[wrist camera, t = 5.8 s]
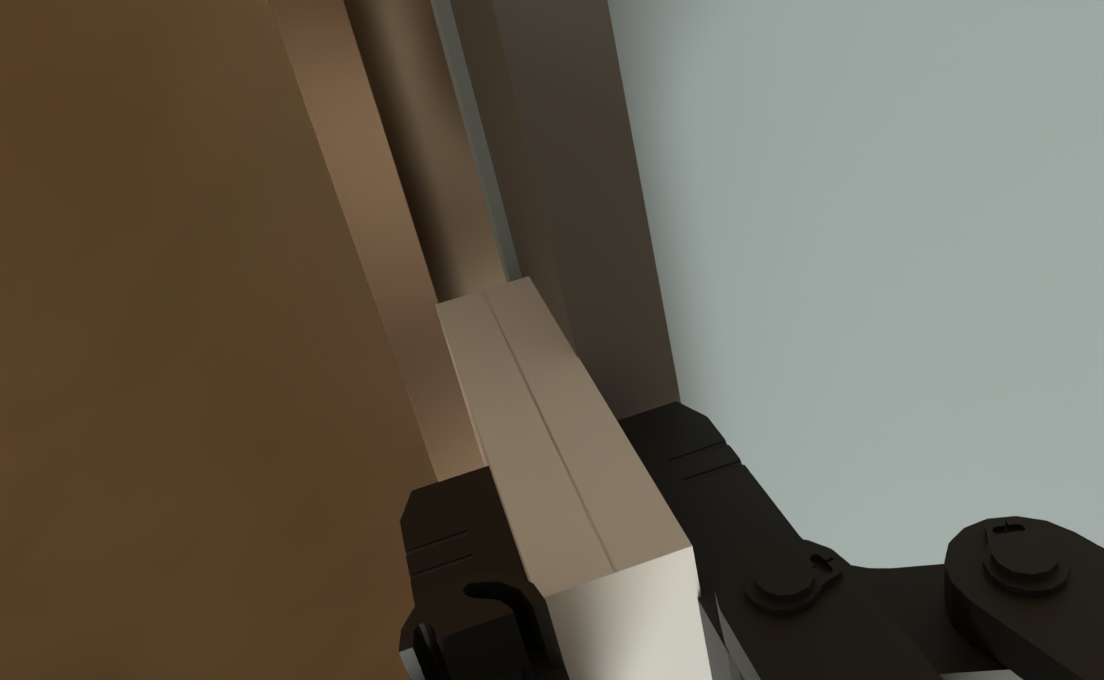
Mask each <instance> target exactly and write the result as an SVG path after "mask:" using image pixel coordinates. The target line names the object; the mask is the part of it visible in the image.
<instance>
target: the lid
mask: <svg viewBox="0 0 1104 680" xmlns="http://www.w3.org/2000/svg"><path fill="white" fill-rule="evenodd" d="M430 2H431V5H432V9H433V13H434V16H435V20H436V24H437V28H438V31H439V35H440V39H441V42H442V46H443V50H444V53H445V57H446V61H447V64H448V68H449V72H450V75H451V79H452V83H453V86H454V90H455V94H456V98H457V101H458V105H459V109H460V112H461V116H462V120H463V123H464V127H465V131H466V134H467V138H468V142H469V145H470V149H471V153H472V156H473V160H474V164H475V167H476V171H477V175H478V179H479V182H480V186H481V190H482V193H483V197H484V201H485V204H486V208H487V212H488V215H489V219H490V223H491V226H492V230H493V234H494V237H495V241H496V245H497V249H498V252H499V256H500V260H501V263H502V267H503V271H504V274H505V278H506V282H507V283H508V282H511V281H514V280H518V279H521V278H524V277H528V276H529V277H530V279H531V281H532V282H533V284H534V286H535V287H536V289H537V291H538V292H539V294H540V296H541V297H542V299H543V301H544V302H545V304H546V306H547V307H548V309H549V311H550V312H551V314H552V316H553V317H554V319H555V321H556V322H557V324H558V326H559V327H560V329H561V331H562V332H563V334H564V336H565V337H566V339H567V341H568V342H569V344H570V346H571V347H572V349H573V351H574V352H575V354H576V356H577V357H579V359H580V360H581V362H582V364H583V365H584V367H585V369H586V370H587V372H588V374H589V375H590V377H591V379H592V380H593V382H594V384H595V385H596V387H597V389H598V390H599V392H600V394H601V395H602V397H603V398H604V400H605V402H606V403H607V405H608V407H609V408H610V410H611V412H612V413H613V415H614V417H615V418H616V420H621V419H624V418H627V417H630V416H633V415H636V414H639V413H642V412H645V411H648V410H651V409H654V408H657V407H660V406H663V405H666V404H669V403H672V402H675V401H677V402H679V403H681V404H683V405H685V406H687V407H689V408H691V409H693V410H695V411H697V412H699V413H701V414H703V415H705V416H707V417H708V418H709V419H710V421H711V422H712V423H713V424H714V426H715V427H716V428H717V430H718V431H719V432H720V433H721V435H722V436H723V437H724V439H725V440H726V443H727V445H730V446H731V448H732V449H733V450H734V452H735V453H736V454H737V455H738V457H739V458H740V459H741V463H742V465H745V466H746V467H747V468H748V470H749V471H750V472H751V474H752V475H753V476H754V477H755V479H756V480H757V481H758V483H759V484H760V485H761V487H762V488H763V489H764V490H765V492H766V493H767V494H768V496H769V497H770V498H771V499H772V501H773V502H774V503H775V505H776V506H777V507H778V509H779V510H780V511H781V512H782V514H783V515H784V516H785V518H786V519H787V520H788V521H789V523H790V524H791V525H792V527H793V528H794V529H795V531H796V532H797V533H798V534H799V536H800V537H801V538H802V539H803V540H809V541H812V542H815V543H817V544H820V545H823V546H826V547H828V548H831V549H832V550H834V551H835V552H836V553H837V554H839V555H840V556H841V557H842V558H843V559H845V560H846V561H847V562H848V563H849V564H850V565H854V566H860V567H866V568H900V567H912V566H923V565H935V564H944V561H945V557H946V552H947V548H948V544H949V542H950V541H951V540H952V539H953V538H954V537H955V536H956V535H957V534H958V533H959V532H960V531H961V530H962V529H963V528H965V527H967V526H970V525H972V524H975V523H977V522H980V521H982V520H985V519H988V518H999V517H1010V516H1020V517H1026V518H1033V519H1040V520H1046V521H1049V522H1051V523H1054V524H1056V525H1059V526H1061V527H1064V528H1066V529H1069V530H1071V531H1074V532H1076V533H1078V534H1079V535H1081V536H1083V537H1085V538H1086V539H1088V540H1090V541H1092V542H1093V543H1095V544H1097V545H1099V546H1100V545H1103V544H1104V0H430Z"/></svg>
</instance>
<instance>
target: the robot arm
mask: <svg viewBox="0 0 1104 680" xmlns="http://www.w3.org/2000/svg"><path fill="white" fill-rule="evenodd" d="M435 306H436V309H437V312H438V316H439V319H440V322H441V326H442V329H443V332H444V335H445V339H446V342H447V345H448V348H449V352H450V355H451V358H452V362H453V365H454V368H455V371H456V375H457V378H458V381H459V384H460V388H461V391H462V394H463V398H464V401H465V404H466V407H467V411H468V414H469V417H470V420H471V424H472V427H473V430H474V434H475V437H476V440H477V443H478V447H479V450H480V453H481V456H482V459H483V462H484V465H485V467H483V468H480V469H477V470H474V471H471V472H467V473H464V474H461V475H458V476H455V477H452V478H449V479H446V480H443V481H440V482H437V483H434V484H431V485H428V486H425V487H422V488H419V489H416V490H413V491H412V492H411V494H410V497H409V499H408V502H407V504H406V507H405V510H404V512H403V515H402V517H401V520H400V524H401V530H402V535H403V541H404V547H405V551H406V555H407V556H406V558H407V564H408V569H409V575H410V578H411V586H412V592H413V598H414V603H415V607H414V609H413V610H412V612H411V614H410V616H409V617H408V619H407V621H406V622H405V624H404V626H403V628H402V629H401V637H400V646H399V654H400V657H401V659H402V661H403V664H404V666H405V669H406V671H407V674H408V676H409V678H410V680H1104V548H1102V547H1101V546H1099V545H1097V544H1095V543H1093V542H1092V541H1090V540H1088V539H1086V538H1085V537H1083V536H1081V535H1079V534H1078V533H1076V532H1074V531H1071V530H1069V529H1066V528H1064V527H1061V526H1059V525H1056V524H1054V523H1051V522H1049V521H1046V520H1040V519H1033V518H1026V517H1020V516H1010V517H999V518H988V519H985V520H982V521H980V522H977V523H975V524H972V525H970V526H967V527H965V528H963V529H962V530H961V531H960V532H959V533H958V534H957V535H956V536H955V537H954V538H953V539H952V540H951V541H950V542H949V544H948V548H947V552H946V557H945V561H944V564H935V565H923V566H912V567H900V568H866V567H860V566H854V565H850V564H849V563H848V562H847V561H846V560H845V559H843V558H842V557H841V556H840V555H839V554H837V553H836V552H835V551H834V550H832V549H831V548H828V547H826V546H823V545H820V544H817V543H815V542H812V541H809V540H803V539H802V538H801V537H800V536H799V534H798V533H797V532H796V531H795V529H794V528H793V527H792V525H791V524H790V523H789V521H788V520H787V519H786V518H785V516H784V515H783V514H782V512H781V511H780V510H779V509H778V507H777V506H776V505H775V503H774V502H773V501H772V499H771V498H770V497H769V496H768V494H767V493H766V492H765V490H764V489H763V488H762V487H761V485H760V484H759V483H758V481H757V480H756V479H755V477H754V476H753V475H752V474H751V472H750V471H749V470H748V468H747V467H746V466H745V465H742V463H741V459H740V458H739V457H738V455H737V454H736V453H735V452H734V450H733V449H732V448H731V446H730V445H727V443H726V440H725V439H724V437H723V436H722V435H721V433H720V432H719V431H718V430H717V428H716V427H715V426H714V424H713V423H712V422H711V421H710V419H709V418H708V417H707V416H705V415H703V414H701V413H699V412H697V411H695V410H693V409H691V408H689V407H687V406H685V405H683V404H681V403H679V402H677V401H675V402H672V403H669V404H666V405H663V406H660V407H657V408H654V409H651V410H648V411H645V412H642V413H639V414H636V415H633V416H630V417H627V418H624V419H621V420H616V418H615V417H614V415H613V413H612V412H611V410H610V408H609V407H608V405H607V403H606V402H605V400H604V398H603V397H602V395H601V394H600V392H599V390H598V389H597V387H596V385H595V384H594V382H593V380H592V379H591V377H590V375H589V374H588V372H587V370H586V369H585V367H584V365H583V364H582V362H581V360H580V359H579V357H577V356H576V354H575V352H574V351H573V349H572V347H571V346H570V344H569V342H568V341H567V339H566V337H565V336H564V334H563V332H562V331H561V329H560V327H559V326H558V324H557V322H556V321H555V319H554V317H553V316H552V314H551V312H550V311H549V309H548V307H547V306H546V304H545V302H544V301H543V299H542V297H541V296H540V294H539V292H538V291H537V289H536V287H535V286H534V284H533V282H532V281H531V279H530V277H529V276H528V277H524V278H521V279H518V280H514V281H511V282H508V283H505V284H501V285H498V286H495V287H491V288H488V289H485V290H482V291H478V292H475V293H472V294H468V295H465V296H462V297H459V298H455V299H452V300H449V301H445V302H442V303H439V304H436V305H435Z"/></svg>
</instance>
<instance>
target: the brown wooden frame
mask: <svg viewBox="0 0 1104 680" xmlns="http://www.w3.org/2000/svg"><path fill="white" fill-rule="evenodd" d="M268 1H269V4H270V7H271V9H272V12H273V15H274V18H275V21H276V24H277V27H278V29H279V32H280V35H281V38H282V41H283V44H284V46H285V49H286V52H287V55H288V58H289V61H290V63H291V66H292V69H293V72H294V75H295V78H296V81H297V83H298V86H299V89H300V92H301V95H302V98H303V100H304V103H305V106H306V109H307V112H308V115H309V117H310V120H311V123H312V126H313V129H314V132H315V135H316V137H317V140H318V143H319V146H320V149H321V152H322V154H323V157H324V160H325V163H326V166H327V169H328V171H329V174H330V177H331V180H332V183H333V186H334V188H335V191H336V194H337V197H338V200H339V203H340V206H341V208H342V211H343V214H344V217H345V220H346V223H347V225H348V228H349V231H350V234H351V237H352V240H353V242H354V245H355V248H356V251H357V254H358V257H359V260H360V262H361V265H362V268H363V271H364V274H365V277H366V279H367V282H368V285H369V288H370V291H371V294H372V296H373V299H374V302H375V305H376V308H377V311H378V314H379V316H380V319H381V322H382V325H383V328H384V331H385V333H386V336H387V339H388V342H389V345H390V348H391V350H392V353H393V356H394V359H395V362H396V365H397V367H398V370H399V373H400V376H401V379H402V382H403V385H404V387H405V390H406V393H407V396H408V399H409V402H410V404H411V407H412V410H413V413H414V416H415V419H416V421H417V424H418V427H419V430H420V433H421V436H422V439H423V441H424V444H425V447H426V450H427V453H428V456H429V458H430V461H431V464H432V467H433V470H434V473H435V475H436V478H437V481H438V482H440V481H443V480H446V479H449V478H452V477H455V476H458V475H461V474H464V473H467V472H471V471H474V470H477V469H480V468H483V467H485V465H484V462H483V459H482V456H481V453H480V450H479V447H478V443H477V440H476V437H475V434H474V430H473V427H472V424H471V420H470V417H469V414H468V411H467V407H466V404H465V401H464V398H463V394H462V391H461V388H460V384H459V381H458V378H457V375H456V371H455V368H454V365H453V362H452V358H451V355H450V352H449V348H448V345H447V342H446V339H445V335H444V332H443V329H442V326H441V322H440V319H439V316H438V312H437V309H436V306H435V305H436V304H439V303H442V302H445V301H449V300H452V299H455V298H459V297H462V296H465V295H468V294H472V293H475V292H478V291H482V290H485V289H488V288H491V287H495V286H498V285H501V284H505V283H507V282H506V278H505V274H504V271H503V267H502V263H501V260H500V256H499V252H498V249H497V245H496V241H495V237H494V234H493V230H492V226H491V223H490V219H489V215H488V212H487V208H486V204H485V201H484V197H483V193H482V190H481V186H480V182H479V179H478V175H477V171H476V167H475V164H474V160H473V156H472V153H471V149H470V145H469V142H468V138H467V134H466V131H465V127H464V123H463V120H462V116H461V112H460V109H459V105H458V101H457V98H456V94H455V90H454V86H453V83H452V79H451V75H450V72H449V68H448V64H447V61H446V57H445V53H444V50H443V46H442V42H441V39H440V35H439V31H438V28H437V24H436V20H435V16H434V13H433V9H432V5H431V2H430V0H268Z"/></svg>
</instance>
